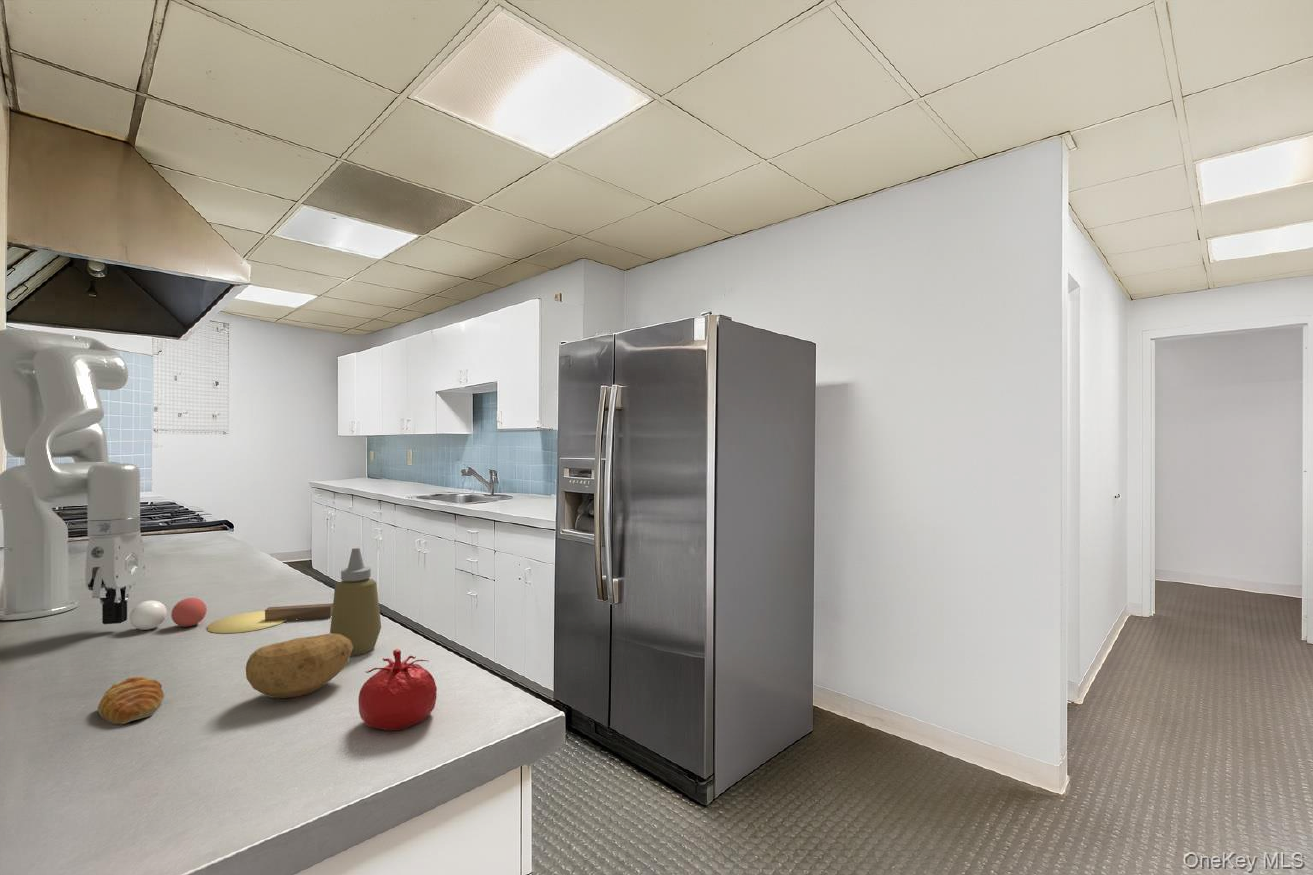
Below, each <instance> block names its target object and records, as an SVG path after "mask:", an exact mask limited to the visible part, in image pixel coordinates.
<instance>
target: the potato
mask: <svg viewBox="0 0 1313 875" xmlns="http://www.w3.org/2000/svg"><path fill="white" fill-rule="evenodd" d="M352 649H353V645H352V642H351V640H349V639H348V638H347V637H345V636H343V635H341V634H331V633H330V632H329V633H323V634H319V635H315V636H305V637H296V638H293V639H288V640H286V641H280V642H275V643H272V644H268V645H265V646H261V647H259V648H258V649H256V650H254V652H252V653H251V654H250V655H249V657H248V659H247V662H246V664H245V677H246V680H247V681H248V683H249V684H250V686H251V688H252V689H253V690H255V691H257V692H259V693H261V694H263V695H265V696H267V697H271V698H278V699H279V698H280V699H281V698H284V699H285V698H287V699H288V698H295V697H301V696H306V695H309V694H310V693H312V692H314V691H316V690H319V689H320V688H321V687H323V686H324V685H325V684H327V683H328V682H330V681H331V680H332V679H333V678H335V677H336V676H337V675H338V674H339V673H340V672H341V671H342V670H343V669H344V668H345V667H346V665H347V664H348V663H349V659H350V654H351V652H352Z"/></svg>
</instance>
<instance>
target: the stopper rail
mask: <svg viewBox="0 0 1313 875" xmlns="http://www.w3.org/2000/svg"><path fill="white" fill-rule="evenodd" d="M332 609H333V603H317V604H299V605H298V604H297V605H286V606H285V605H284V606H269V607H267V608H266V609H264V611H265V621H278V620H293V621H297V620H296V619H308V620H320V619H321V620H322V618H324V619H331V618H332V617H331V616H332ZM330 617H331V618H330Z"/></svg>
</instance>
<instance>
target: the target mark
mask: <svg viewBox="0 0 1313 875" xmlns="http://www.w3.org/2000/svg"><path fill="white" fill-rule="evenodd" d="M285 621H286V620H278V621H265V610H260V611H259V610H258V611H252V612H244V613H239V614H234V615H230V616H226V617H223V618H219V619H217V620H216V621H213V622H211V623H209V624H208V625H207V626H206V630H207V631H208V632H210V633H214V634H241V633H247V632H248V631H249V632H254V631H260V630H264V629H269V628H272V627H271V626H273V627H275V626H274V625H276V626H278V625H281V624H283V622H284V623H286V622H287V621H286V622H285ZM268 627H269V628H268ZM249 632H248V633H249Z"/></svg>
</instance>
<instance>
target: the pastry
mask: <svg viewBox="0 0 1313 875" xmlns="http://www.w3.org/2000/svg"><path fill="white" fill-rule="evenodd" d="M162 687H163V686H162V684H161V683H160V682H159V681H158V680H156V679H149V677H147V676H146V677H145V676H134V677H128V678H126V679H123V680H122V681H120V682H118V683H115V684H112V685H111V687H110V688H108V689H107V690H106V691H105V693H104V695H103V696H102V698H101V699H100V701H99V703H98V706H97V710H98V712H99V715H100V717H101V718H103V719H104V720H105V721H108V722H109V723H112V724H113V725H124V724H128V723H130V722H132V721H137V720H141V719H144V718H148V717H152V716H153V715H154V713H155V712H156V711H157V710H158V709H159V708H160V707H161V706H162V702H163V699H164V698H165V693H164V690H163V689H162Z"/></svg>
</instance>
